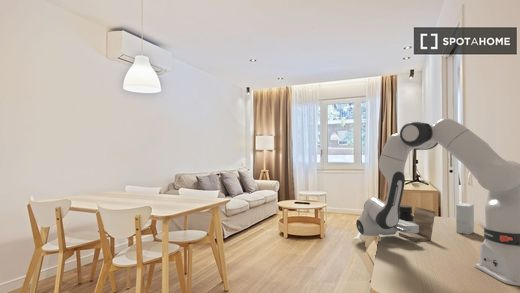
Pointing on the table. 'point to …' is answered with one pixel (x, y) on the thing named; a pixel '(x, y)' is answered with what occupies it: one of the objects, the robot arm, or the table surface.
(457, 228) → the skincare box
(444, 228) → the table surface
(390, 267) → the table surface
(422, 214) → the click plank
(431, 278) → the table surface
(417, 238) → the laid plank
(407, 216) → the ink bottle
